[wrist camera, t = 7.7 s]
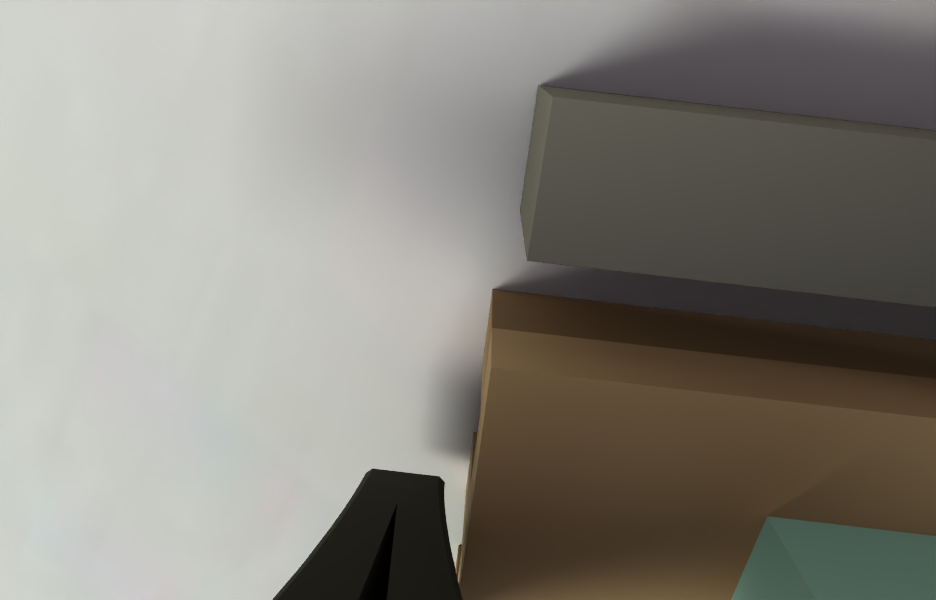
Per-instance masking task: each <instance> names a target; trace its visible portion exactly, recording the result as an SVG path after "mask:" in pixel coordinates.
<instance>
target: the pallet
mask: <svg viewBox="0 0 936 600" xmlns="http://www.w3.org/2000/svg"><path fill="white" fill-rule="evenodd" d="M767 516H769V517H777V518H786V519H795V520H803V521H812V522H820V523H829V524H837V525H846V526H854V527H863V528H872V529H880V530H889V531H897V532H906V533H914V534H923V535H931V536H936V340H930V339H921V338H913V337H904V336H895V335H886V334H878V333H869V332H860V331H852V330H843V329H834V328H825V327H817V326H808V325H799V324H791V323H782V322H773V321H764V320H756V319H747V318H738V317H730V316H721V315H712V314H703V313H695V312H686V311H677V310H669V309H660V308H651V307H643V306H634V305H625V304H616V303H608V302H599V301H590V300H582V299H573V298H564V297H555V296H547V295H538V294H529V293H521V292H512V291H503V290H494V289H493V290H492V298H491V305H490V313H489V320H488V328H487V335H486V343H485V350H484V358H483V367H482V388H481V409H480V419H479V426H478V432H474V434H473V441H472V449H471V456H470V464H469V471H468V479H467V487H466V496H465V510H464V524H463V538H462V545H459V547H458V555H457V562H456V574H457V578H458V583H459V587H460V591H461V595H462V598H463V600H731V599H732V596H733V594H734V592H735V589H736V587H737V585H738V583H739V580H740V578H741V576H742V573H743V571H744V569H745V566H746V564H747V562H748V559H749V557H750V555H751V553H752V550H753V548H754V546H755V543H756V541H757V539H758V536H759V534H760V532H761V529H762V527H763V525H764V522H765V520H766V518H767Z"/></svg>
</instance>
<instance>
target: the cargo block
mask: <svg viewBox="0 0 936 600" xmlns="http://www.w3.org/2000/svg"><path fill="white" fill-rule="evenodd" d="M731 600H936V536H931V535H923V534H914V533H906V532H897V531H889V530H880V529H872V528H863V527H854V526H846V525H837V524H829V523H820V522H812V521H803V520H795V519H786V518H777V517H769V516H767V518H766V520H765V522H764V525H763V527H762V529H761V532H760V534H759V536H758V539H757V541H756V543H755V546H754V548H753V550H752V553H751V555H750V557H749V559H748V562H747V564H746V566H745V569H744V571H743V573H742V576H741V578H740V580H739V583H738V585H737V587H736V589H735V592H734V594H733V596H732V599H731Z"/></svg>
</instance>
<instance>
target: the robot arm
mask: <svg viewBox="0 0 936 600" xmlns="http://www.w3.org/2000/svg"><path fill="white" fill-rule="evenodd" d="M444 484H445V482H444V481H443V480H442V479H441V478H440V477H439V476H430V475H422V474H413V473H405V472H396V471H388V470H379V469H371V470H370V471H368V472H367V473H366V474H365V476H364V478H363V480H362V481H361V483H360V485H359V486H358V488H357V490H356V491H355V493H354V494H353V496H352V498H351V499H350V501H349V502H348V504H347V505H346V507H345V508H344V510H343V511H342V512H341V514H340V515H339V517H338V518H337V519H336V521H335V522H334V524H333V525H332V527H331V528H330V529H329V531H328V532H327V533H326V534H325V536H324V537H323V538H322V540H321V541H320V542H319V544H318V545H317V546H316V548H315V549H314V550H313V551H312V553H311V554H310V555H309V557H308V558H307V559H306V561H305V562H304V563H303V564H302V565H301V567H300V568H299V569H298V570H297V572H296V573H295V574H294V575H293V576H292V577H291V579H290V580H289V581H288V582H287V583H286V584H285V586H284V587H283V588H282V589H281V590H280V591H279V593H278V594H277V595H276V596H275V597H274V598H273V600H463V598H462V595H461V591H460V587H459V583H458V578H457V574H456V570H455V566H454V561H453V557H452V552H451V547H450V542H449V536H448V529H447V523H446V515H445V504H444Z"/></svg>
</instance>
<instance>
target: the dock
mask: <svg viewBox="0 0 936 600" xmlns="http://www.w3.org/2000/svg"><path fill="white" fill-rule="evenodd" d="M520 214H521V221H522V228H523V235H524V242H525V249H526V256H527V261H534V262H543V263H551V264H560V265H569V266H578V267H586V268H595V269H604V270H612V271H621V272H630V273H638V274H647V275H656V276H665V277H673V278H682V279H691V280H699V281H708V282H717V283H726V284H734V285H743V286H752V287H760V288H769V289H778V290H786V291H795V292H804V293H813V294H821V295H830V296H839V297H847V298H856V299H865V300H873V301H882V302H891V303H900V304H908V305H917V306H926V307H934V308H936V131H935V130H926V129H917V128H908V127H899V126H891V125H882V124H873V123H864V122H856V121H847V120H838V119H829V118H821V117H812V116H803V115H794V114H785V113H777V112H768V111H759V110H750V109H742V108H733V107H724V106H715V105H706V104H698V103H689V102H680V101H671V100H663V99H654V98H645V97H636V96H628V95H619V94H610V93H601V92H592V91H584V90H575V89H566V88H557V87H549V86H540V85H538V91H537V98H536V105H535V111H534V118H533V125H532V132H531V139H530V146H529V153H528V160H527V166H526V173H525V180H524V187H523V194H522V201H521V208H520Z"/></svg>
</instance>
